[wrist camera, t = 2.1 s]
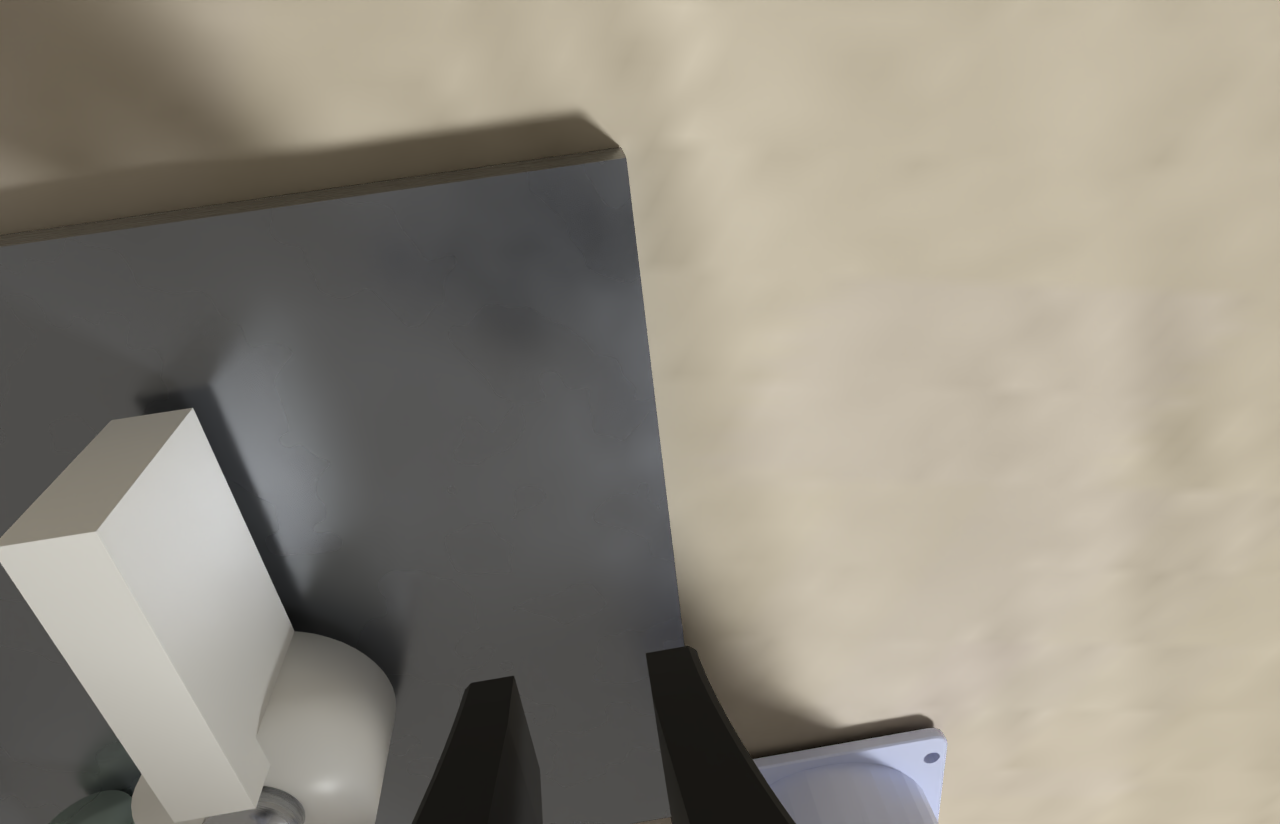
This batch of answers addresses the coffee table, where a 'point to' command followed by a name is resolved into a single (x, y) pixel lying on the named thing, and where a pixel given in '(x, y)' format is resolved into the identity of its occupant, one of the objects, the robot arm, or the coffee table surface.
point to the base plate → (374, 456)
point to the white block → (196, 639)
